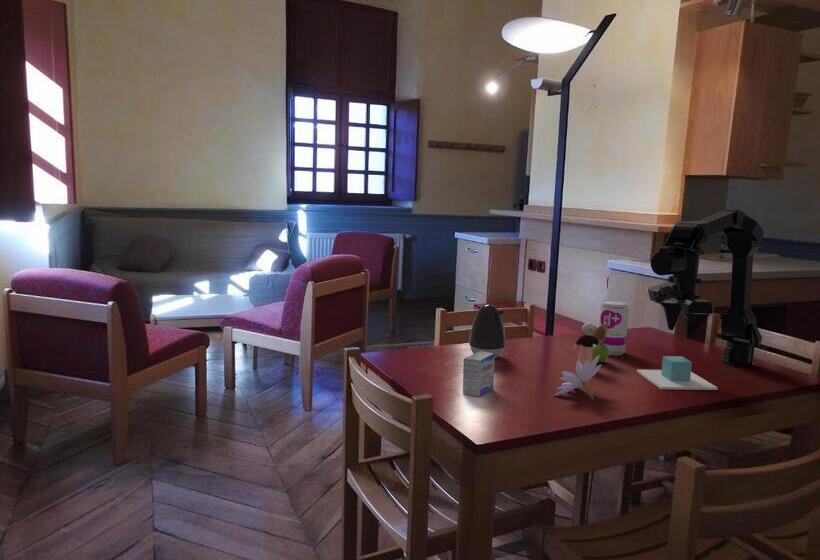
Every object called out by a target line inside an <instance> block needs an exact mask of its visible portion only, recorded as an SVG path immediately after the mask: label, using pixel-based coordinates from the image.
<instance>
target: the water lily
mask: <svg viewBox="0 0 820 560" xmlns="http://www.w3.org/2000/svg"><path fill="white" fill-rule="evenodd" d="M599 356H600V355H598V356H597V357H596V358H595V359H594V360H592V363H591V365H590V362H589V360H587V361H586V362H585V363H584V365H582V364H581V362H580V361H578V360H577V361H576V363H575V372H571V371H564V370H563V371H562V372H561V374H562V376H561V377H559V380H562V381H564V382H562V383H561V386H559V387H557V388H556V390H560V391H558V392H556V393H555V394H554V395H553V397H557V396H561V395H563V394H566V393H568V392H571V391H573V390H574V389H579V388H581V387H584V388H585V390H586V392H587V393H588V395H589V397H590V399H591V400H594V399H595V397H594V396H593V393H592V391H591V390H590V389H589V388H588V385H587V384H586V382H588V381H590V380H591V379H592V378H593V377H595V375H596V374H597V373H598V372H599V370H600V369H601V367H602V364H599V365H598V366H597V364H598V363H599V362H598V359H599Z"/></svg>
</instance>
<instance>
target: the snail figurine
mask: <svg viewBox="0 0 820 560" xmlns="http://www.w3.org/2000/svg"><path fill="white" fill-rule="evenodd" d="M607 320H609V319H608V318H607ZM607 327H608V322H606V318H605V323H604V324H603V326H598V325H597V327H595V331H594V333H593V336H594V337H596V338H597V339H598V341H599V344H600V346H601V348H600V349H597V346H596V345H595V344H593V353H592V361H593V360H594V359H595V358H596V357H597V356H598V355H600V356H599V359H598V362H597V363H604V362H605V361H606V360H607V359H608V358H609V356H610V355H609V350H608V348H607V346H606V345H604V344H602V343H603V341H604V340H605V337H606V334H607Z"/></svg>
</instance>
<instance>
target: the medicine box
mask: <svg viewBox="0 0 820 560" xmlns="http://www.w3.org/2000/svg"><path fill="white" fill-rule="evenodd" d="M495 359H496V358H495V354H493V353H489V352H483V351H478V352H476V353H474V354H473V353H472V354H470V355H468V356H465V358H464V357H463V363H462V364H463V366H462V367H463V368H462V394H463V395H467V394H468V396H471V395H472V396H473V397H476V398H480V397H482V396H483V395H485V394H486V393H488V392H490V391H491V390H493V388H494V380H495Z"/></svg>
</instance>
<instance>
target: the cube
mask: <svg viewBox="0 0 820 560" xmlns="http://www.w3.org/2000/svg"><path fill="white" fill-rule="evenodd" d="M692 363H693V362H692V361H691V360H689V359H687V358H686V357H684V356H682V355H681V356H680V355H678V356H676V355H675V356H674V355H672V356H671V355H667V356H666V355H663V356H662V363H661V370H662V372H661V375H662V376H664V377H665V378H666V379H668V380H669V381H690V376H691V372H692V365H693V364H692Z"/></svg>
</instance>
